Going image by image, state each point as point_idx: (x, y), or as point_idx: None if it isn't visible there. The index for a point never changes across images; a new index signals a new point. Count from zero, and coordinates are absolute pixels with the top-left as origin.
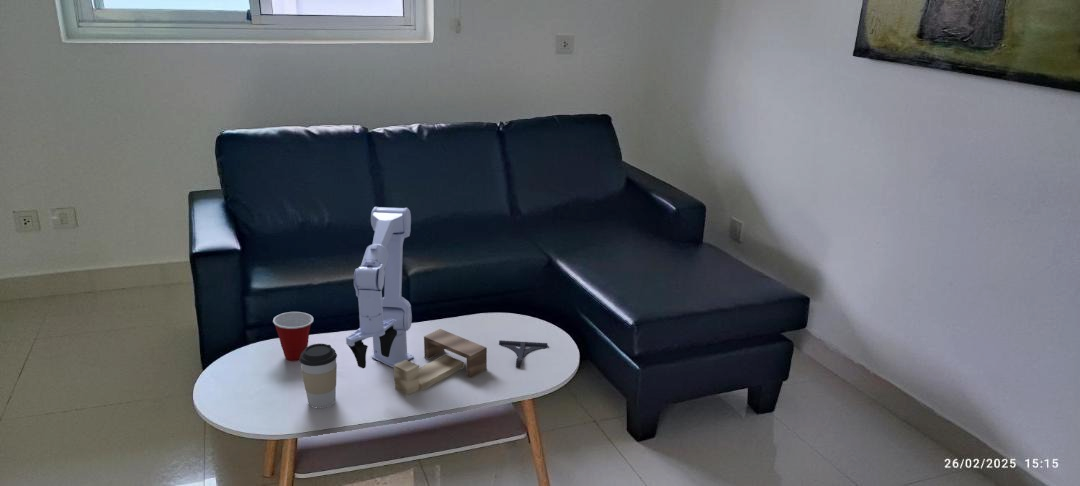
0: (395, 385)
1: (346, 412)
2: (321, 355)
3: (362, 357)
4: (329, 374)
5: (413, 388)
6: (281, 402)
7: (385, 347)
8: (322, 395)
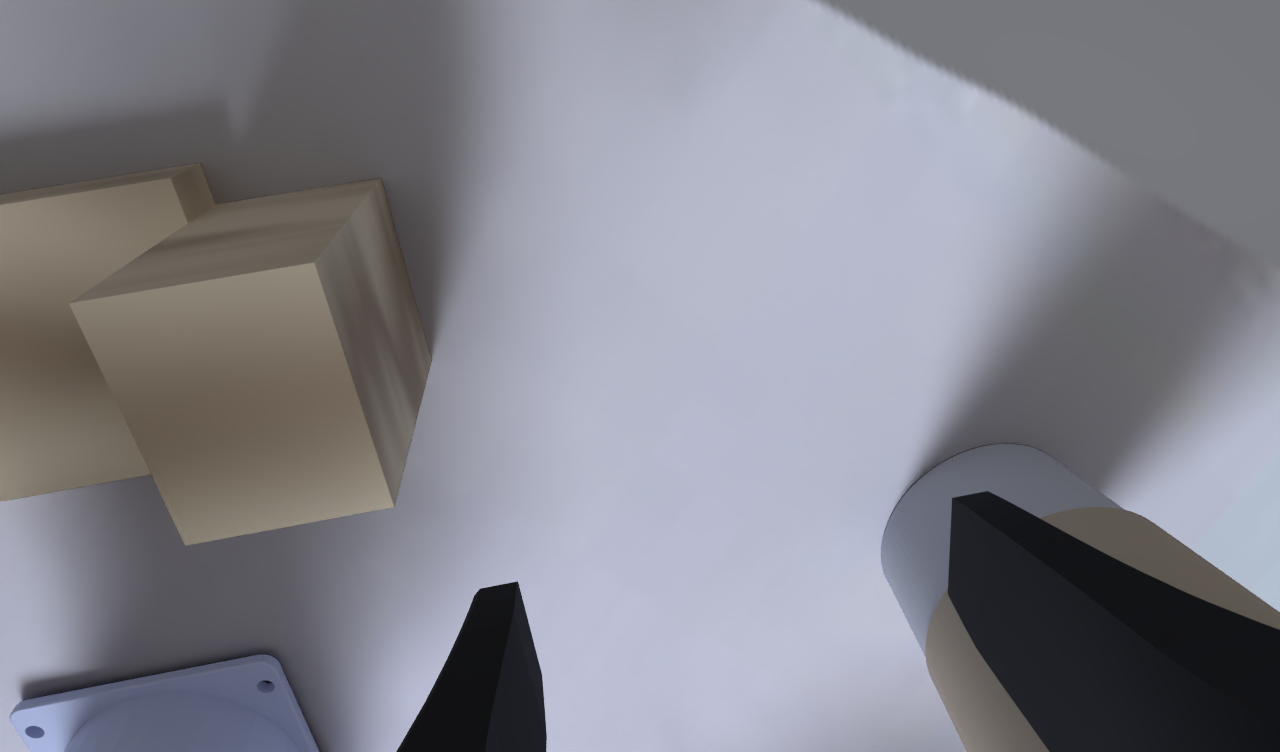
0: (425, 367)
1: (973, 282)
2: None
3: (1199, 600)
4: None
5: (287, 200)
6: None
7: (514, 749)
8: (1116, 506)
